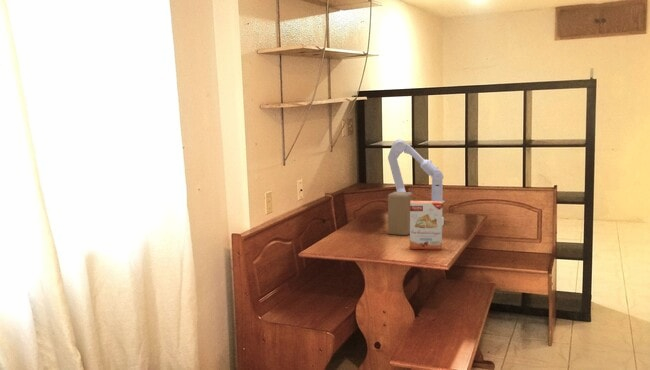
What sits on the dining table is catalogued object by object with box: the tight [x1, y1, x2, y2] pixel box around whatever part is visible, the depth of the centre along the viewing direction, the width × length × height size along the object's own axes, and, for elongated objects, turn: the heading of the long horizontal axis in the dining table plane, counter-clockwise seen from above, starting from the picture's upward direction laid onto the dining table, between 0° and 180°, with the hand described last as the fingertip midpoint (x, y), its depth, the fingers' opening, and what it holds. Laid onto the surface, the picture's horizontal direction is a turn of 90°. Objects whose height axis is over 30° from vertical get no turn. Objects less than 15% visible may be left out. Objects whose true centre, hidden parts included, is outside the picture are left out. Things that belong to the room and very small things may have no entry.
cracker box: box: [409, 200, 444, 251], centre depth 259 cm, size 14×6×21 cm, turn 82°
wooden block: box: [387, 191, 414, 237], centre depth 290 cm, size 10×10×20 cm
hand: (436, 218), depth 315 cm, fingers closed
